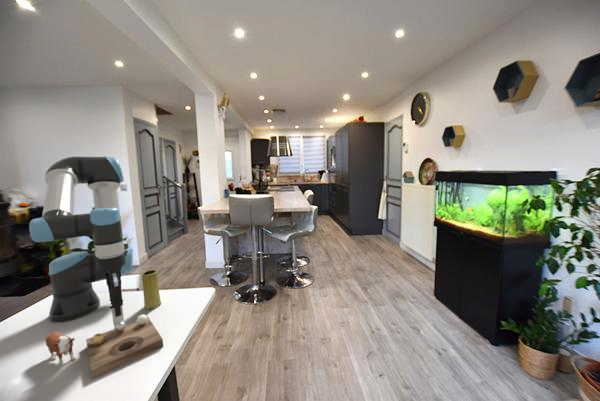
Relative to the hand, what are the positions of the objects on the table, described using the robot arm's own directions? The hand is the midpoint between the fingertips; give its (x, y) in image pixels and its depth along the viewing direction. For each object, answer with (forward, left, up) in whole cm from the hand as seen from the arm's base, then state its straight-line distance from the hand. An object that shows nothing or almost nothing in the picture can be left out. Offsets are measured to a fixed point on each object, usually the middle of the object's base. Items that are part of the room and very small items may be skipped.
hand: (118, 323), depth 82 cm
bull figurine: (+1, -14, -4) cm, 15 cm away
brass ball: (+5, -6, 0) cm, 8 cm away
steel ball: (+2, 0, 0) cm, 2 cm away
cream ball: (+3, +6, 0) cm, 7 cm away
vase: (-14, +13, -4) cm, 20 cm away
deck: (+8, 0, -4) cm, 9 cm away
